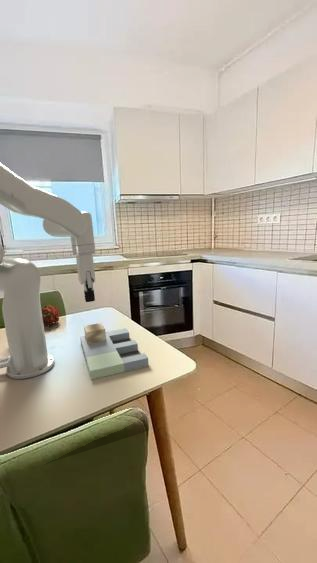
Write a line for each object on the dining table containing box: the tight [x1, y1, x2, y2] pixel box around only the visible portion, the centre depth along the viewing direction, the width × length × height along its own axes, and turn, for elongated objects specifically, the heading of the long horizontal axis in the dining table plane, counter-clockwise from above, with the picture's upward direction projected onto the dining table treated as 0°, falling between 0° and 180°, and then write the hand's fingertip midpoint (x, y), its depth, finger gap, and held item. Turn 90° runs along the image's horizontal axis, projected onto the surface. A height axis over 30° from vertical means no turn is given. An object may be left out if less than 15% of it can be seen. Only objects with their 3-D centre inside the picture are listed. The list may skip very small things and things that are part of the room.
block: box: [83, 322, 107, 344], centre depth 91 cm, size 6×6×4 cm
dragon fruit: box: [41, 304, 60, 326], centre depth 114 cm, size 8×8×12 cm
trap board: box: [79, 327, 149, 380], centre depth 86 cm, size 16×24×2 cm, turn 21°
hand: (90, 300), depth 98 cm, fingers closed
